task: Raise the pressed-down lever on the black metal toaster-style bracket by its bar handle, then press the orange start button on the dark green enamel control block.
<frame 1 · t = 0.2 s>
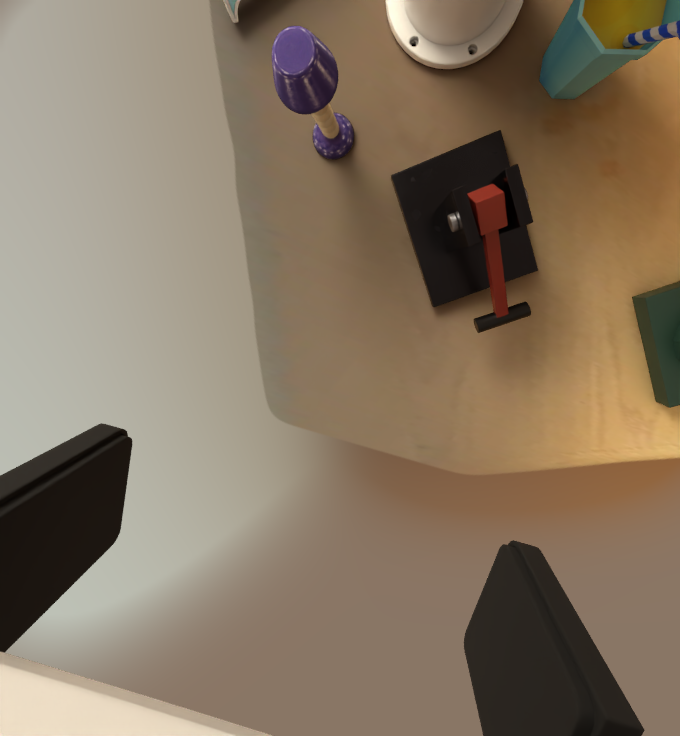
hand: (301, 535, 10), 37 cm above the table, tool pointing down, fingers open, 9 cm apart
lever: (494, 265, 36), point 8 cm above the table, hinge at -28.0°
bracket: (462, 224, 42), on the table
toy lamp: (330, 137, 42), on the table
cup: (569, 80, 38), on the table
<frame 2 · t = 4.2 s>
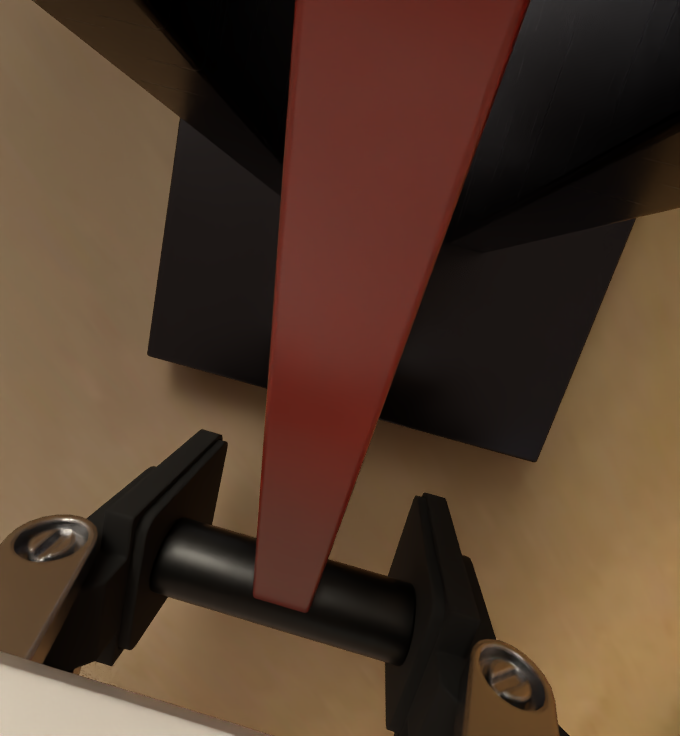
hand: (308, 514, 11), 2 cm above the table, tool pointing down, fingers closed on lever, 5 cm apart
lever: (329, 386, 4), point 8 cm above the table, hinge at -28.0°, touching gripper
bracket: (408, 147, 11), on the table
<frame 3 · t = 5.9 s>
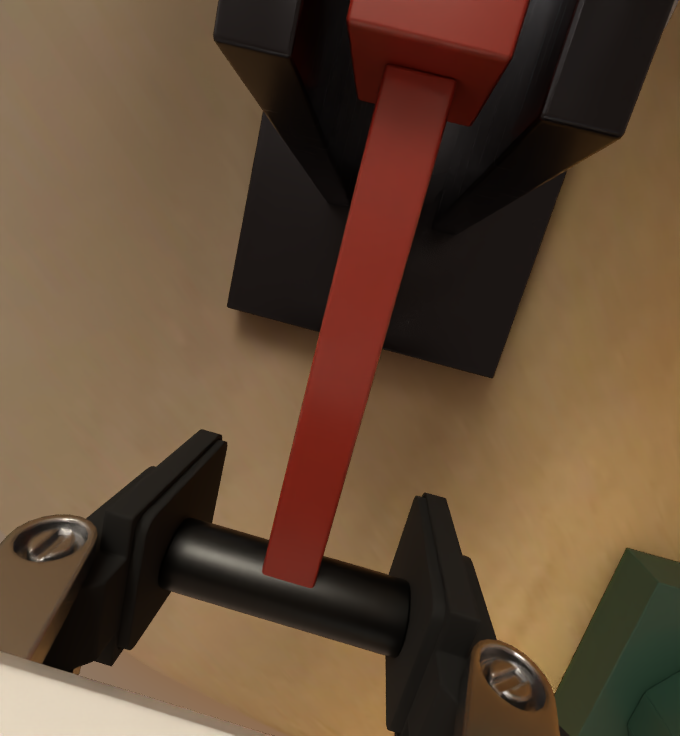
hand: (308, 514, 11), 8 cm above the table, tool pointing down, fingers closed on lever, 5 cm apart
lever: (357, 318, 7), point 10 cm above the table, hinge at -0.4°, touching gripper
control block: (678, 681, 19), on the table
bracket: (405, 165, 16), on the table
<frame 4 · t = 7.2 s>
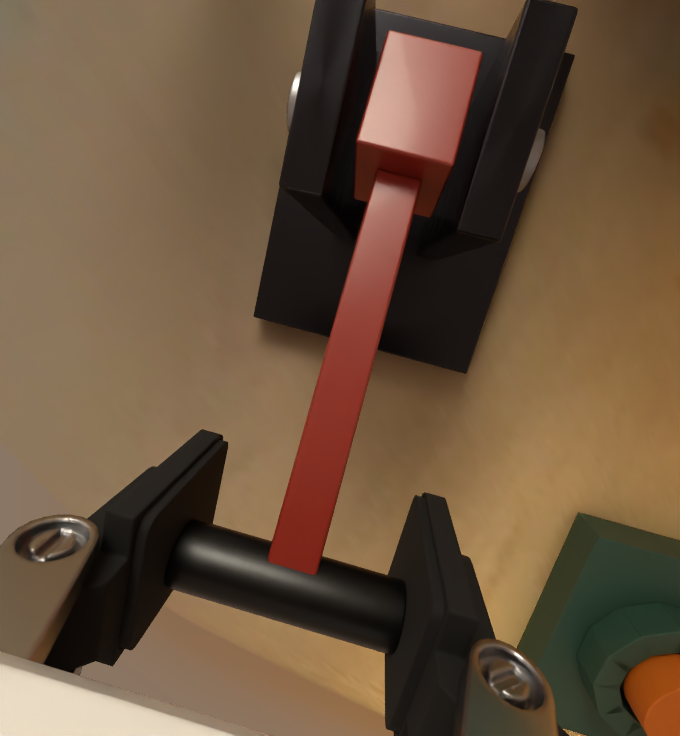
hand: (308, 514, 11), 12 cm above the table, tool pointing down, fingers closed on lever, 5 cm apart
start button: (679, 704, 19), point 5 cm above the table, slide at 0.2 cm
lever: (357, 331, 9), point 12 cm above the table, hinge at 19.3°, touching gripper
control block: (623, 623, 23), on the table
bracket: (396, 204, 20), on the table
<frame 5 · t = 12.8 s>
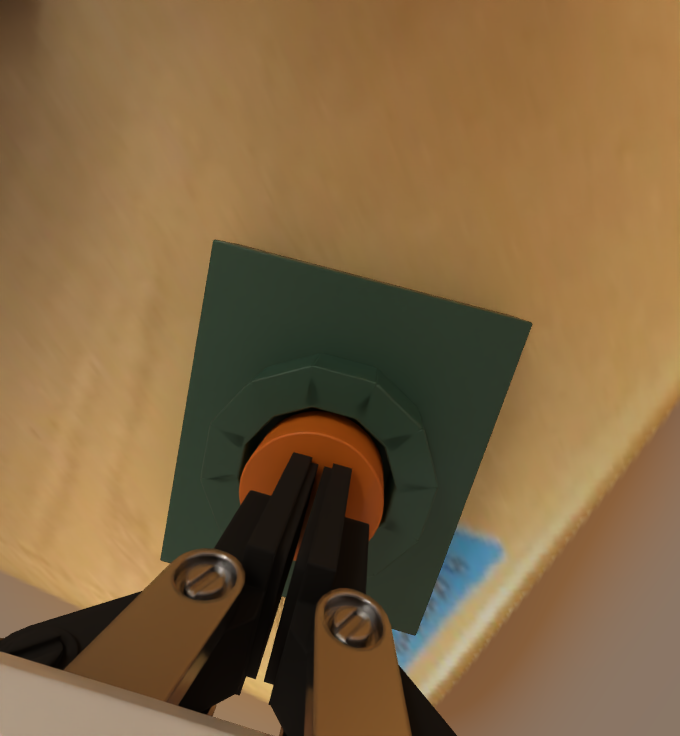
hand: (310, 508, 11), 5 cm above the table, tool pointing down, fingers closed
start button: (314, 484, 12), point 4 cm above the table, slide at -0.3 cm, touching gripper
control block: (331, 431, 16), on the table
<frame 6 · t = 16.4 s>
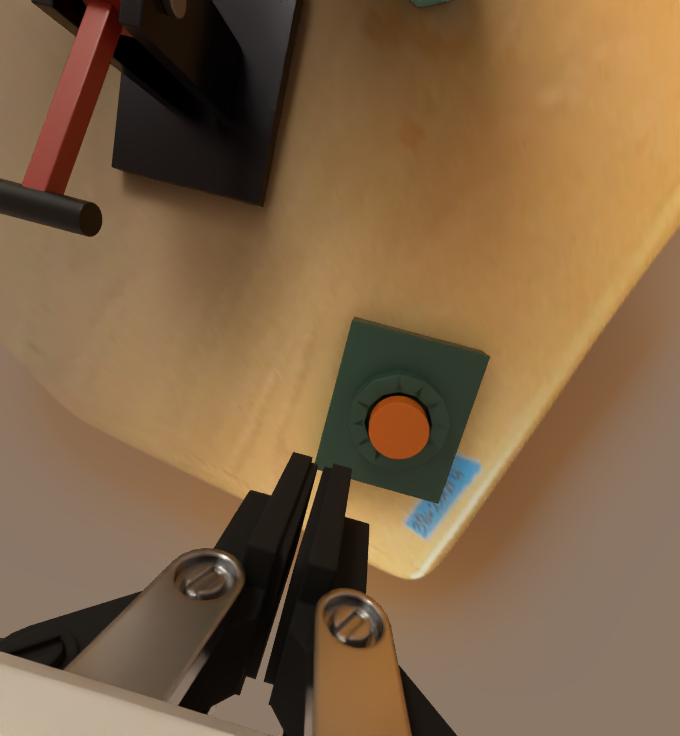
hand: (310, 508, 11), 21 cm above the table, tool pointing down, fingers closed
start button: (398, 427, 28), point 5 cm above the table, slide at 0.1 cm
lever: (80, 85, 18), point 12 cm above the table, hinge at 19.0°
control block: (396, 406, 32), on the table
bracket: (208, 84, 28), on the table
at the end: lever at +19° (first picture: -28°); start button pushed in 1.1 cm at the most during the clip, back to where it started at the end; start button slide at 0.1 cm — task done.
